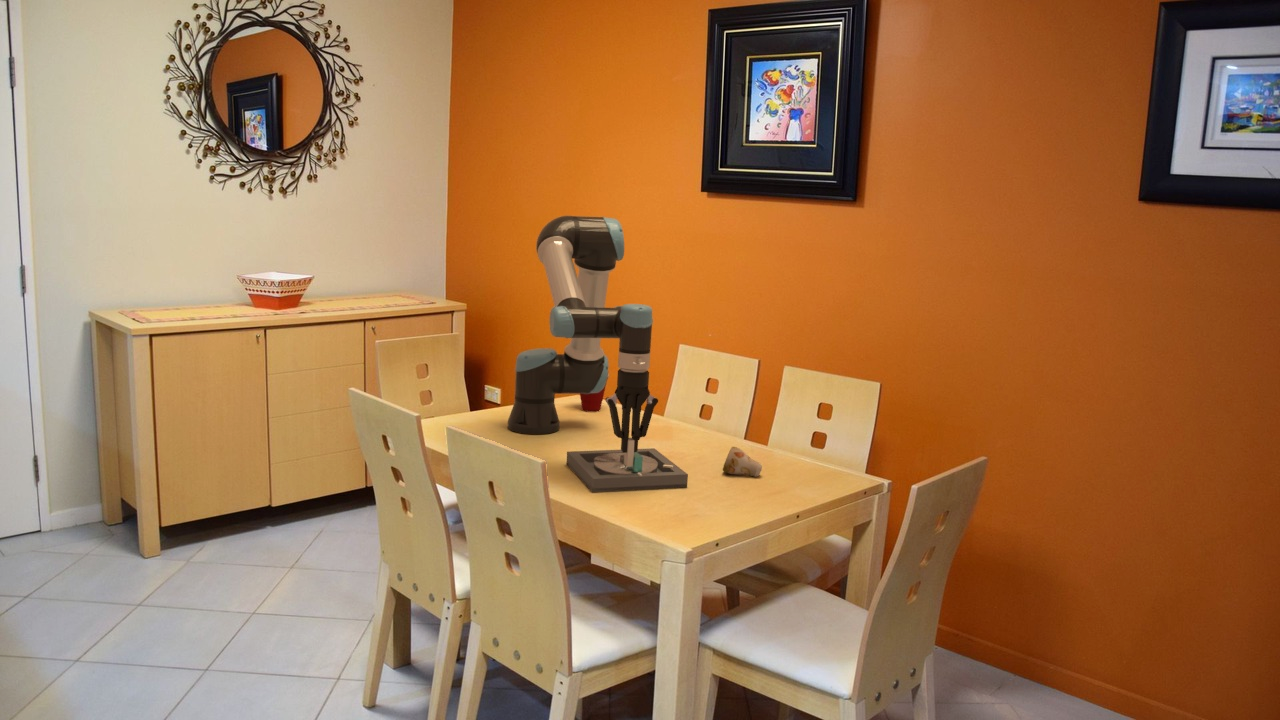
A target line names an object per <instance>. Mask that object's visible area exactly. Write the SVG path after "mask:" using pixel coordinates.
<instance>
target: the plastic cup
mask: <svg viewBox="0 0 1280 720" xmlns="http://www.w3.org/2000/svg"><path fill="white" fill-rule="evenodd" d="M609 378H610V375H609V374H608V377H607V381H608V379H609ZM607 381H606V384H605V386H604V388H603V389H602V390H601V391H600V392H599V393H590V394H579V395H580V397H579V398H580V402H581V403H580V404H581V409H583V410H584V412H587V411H598V412H599V410H600V411H601V408H602V403H603V399H604V395H605V390H606V386H607V383H608V382H607ZM583 410H582V411H583Z"/></svg>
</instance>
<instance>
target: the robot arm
mask: <svg viewBox="0 0 1280 720" xmlns="http://www.w3.org/2000/svg"><path fill="white" fill-rule="evenodd" d="M536 240H537V241H536V244H535V245H536V254H537V257H538V260H539V261H540V263H541V264H543V266H544V269H545V275H546V278H547V282H548V285H549V289H550V293H551V298H552V302H553V305H554V306H553V307H552V308H551V309H550V312H549V313H550V314H549V331H550V334H551V336H553V337H554V338H563V339H564V338H565V339H570V343H569V344H566V346H565V347H564V352H563V353H561V354H558V352H557V350H555V349H554V348H543V347H542V348H534V349H528V350H525V351H521V352H520V353H519V354H518V355H517V357H516V361H515V368H514V371H515V376H514V377H515V381H514V383H515V384H514V401H513V402H514V404H513V406H512V409H511V411H510V414H509V416H508V418H507V419H508V420H507V429H508V430H509V431H512V432H515V433H519V434H524V435H548V434H552V433H553V434H554V433H557V432H558V431H559V430H560V419H559V415H558V412H557V411H558V410H557V409H556V404H555V399H556V398H555V396H556V394H557V395H558V394H562V395H565V394H568V395H569V394H574V395H575V394H577V395H580V394H590V393H599V392H600V391H601V390H602V389H603V388H604V386H605V384H606V385H607V383H606V381H608V379H607V377H608V375H609V367H610V365H609V358H608V356H607V355H606V354H605V352H604V349H603V348H602V347H601V341H602V339H619V340H618V341H619V342H618V343H619V345H618V360H617V362H618V363H617V367H618V368H619V369H618V370H617V379H616V380H617V382H616V383H617V384H616V389H615V390H614V394H612V395H611V396H607V397H606V398H605V399H604V400H605V402H606V404H607V406H608V408H609V414H610V419H611V424H612V429H613V430H612V431H613V434H614V436H616V437H617V438H618V439H621V444H620V450H621V451H622V452H623V453H624V464H625V465H626V466H627V467H633V459H634V452H637V450H638V449H639V441H640V440H641V438H645V437H646V436H647V433H648V430H649V426H650V423H651V420H652V415H653V413H654V409H655V407H656V406H657V404H658V403H659V399H658V398H657V397H655V396H653V395H651V392H650V389H649V382H650V372H649V369H650V362H651V361H650V360H651V347H652V346H651V345H652V330H653V323H654V320H653V319H654V318H653V308H652V306H650V305H647V304H640V303H625V304H623V305H622V306H621V305H619V306H615V307H606V300H607V299H606V298H607V291H608V284H609V277H610V272H612V271H614V270H615V269H616V264H617V261H618V262H619V261H622V260H623V258H624V256H625V235H624V231H623V227H622V225H621V222H620V221H619V220H618V219H617V218H612V217H605V216H580V215H579V216H577V215H575V216H573V215H562V216H559V217H556V218H554V219H552V220H550V221H549V222H548V223H547V224H546V225H545V226H543V228H542V230H541V231H540V232H539V234H538V236H537V239H536ZM573 259H574V261H573ZM575 266H576V267H577V269H578V274H577V272H576V267H575ZM608 378H609V377H608ZM605 387H606V386H605ZM617 400H618V401H617ZM618 402H619V403H620V405H621V411H622V412H621V413H622V414H621V423H620V419H619V418H620V417H619V413H618V407H617V404H618ZM645 402H646V405H645V406H644V407H645V408H644V411H643V414H642V417H641V413H642V406H643V405H644V403H645ZM631 412H632V415H631ZM641 418H642V419H641ZM630 424H631V432H630ZM630 435H631V436H630Z"/></svg>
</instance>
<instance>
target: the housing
mask: <svg viewBox="0 0 1280 720" xmlns="http://www.w3.org/2000/svg"><path fill="white" fill-rule="evenodd" d="M609 453H623V452H622V451H621V449H605V450H603V449H601V450H576V451H566V466H567V467H568V468H569V469H570V470H571V471H572V472H573V473H574V474H575V476H576V477H578V479H579V480H580V481H581V482H582V483H583V484H584V485H585V486H586V487H587V488H588V489H589V490H590V492H591V493H592V494H593V493H608V492H609V493H610V492H613V493H614V492H630V491H631V492H633V491H649V490H651V491H652V490H668V489H669V490H670V489H687V488H688V481H689V480H688V478H689V477H688V475H689V474H688V473H687V472H686V471H684V470H683V469H682V468H680V467H679V466H678V465H677V464H676V463H674V461H671V460H670V459H669V458H668V457H666V456H665V455H664V454H662V453H661V452H660V451H658V450H657V449H656V448H638V450H637V453H639V454H640V455H644V456H648V457H651V458H653V459H655V460H656V461H657V462H658V466H657V473H637V474H616V475H600V474H599V473H598V472H597V471H596V470H595V469H594V468H593V467H594V459H595V458H596V457H597V456H599V455H603V454H609Z"/></svg>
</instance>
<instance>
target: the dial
mask: <svg viewBox="0 0 1280 720" xmlns="http://www.w3.org/2000/svg"><path fill="white" fill-rule="evenodd" d="M657 466H658V462H657V461H656V460H655V459H653V458H651V457H648V456H644V455H640V454H639V453H637V452H634V459H633V467H627V466H626V465H625V464H624V453H609V454H603V455H599V456H597V457H596V458H595V459H594V467H593V468H594V469H595V470H596V471H597V472H598V473H599V474H600V475H616V474H637V473H657Z"/></svg>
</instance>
